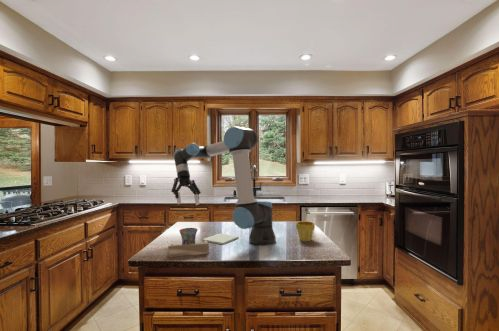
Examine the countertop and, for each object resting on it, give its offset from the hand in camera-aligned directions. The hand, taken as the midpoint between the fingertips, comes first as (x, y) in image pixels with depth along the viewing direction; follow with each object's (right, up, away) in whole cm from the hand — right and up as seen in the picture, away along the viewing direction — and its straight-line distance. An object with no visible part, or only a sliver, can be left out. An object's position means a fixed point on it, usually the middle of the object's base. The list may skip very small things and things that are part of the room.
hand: (188, 204), depth 165 cm
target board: (+19, -21, -2) cm, 28 cm away
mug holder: (+5, -21, -20) cm, 29 cm away
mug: (+5, -21, -20) cm, 30 cm away
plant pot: (+69, -20, -5) cm, 72 cm away
